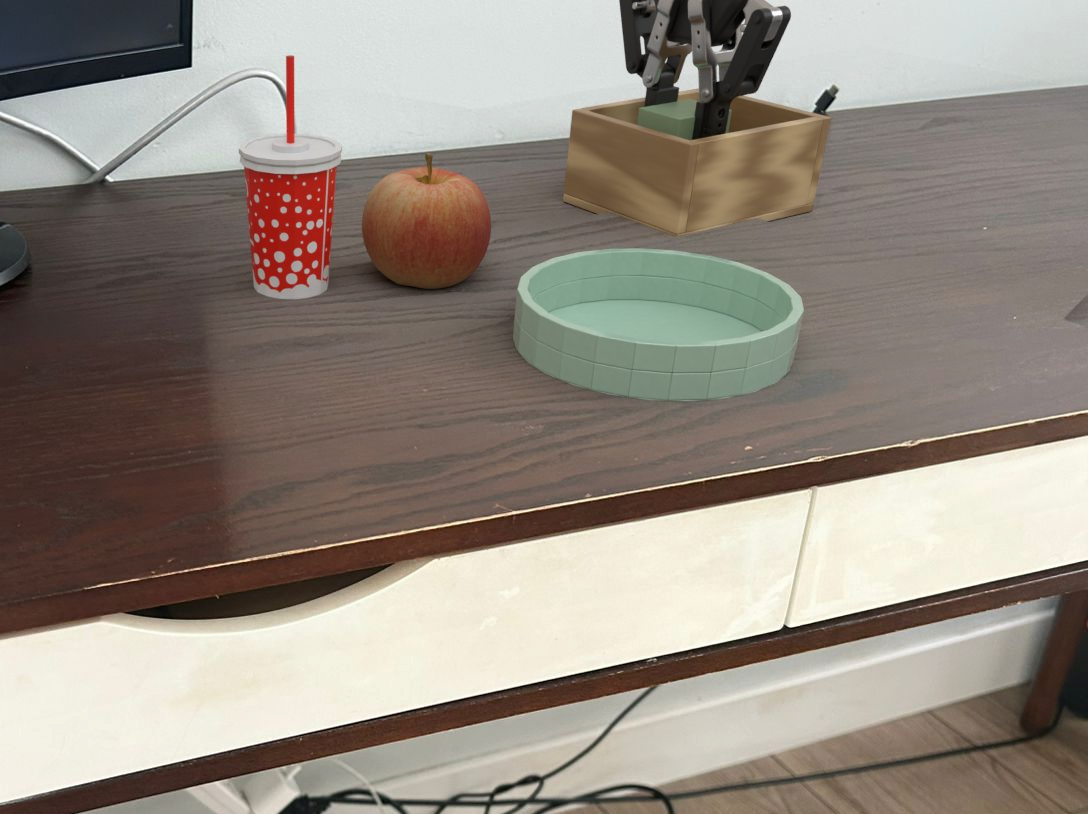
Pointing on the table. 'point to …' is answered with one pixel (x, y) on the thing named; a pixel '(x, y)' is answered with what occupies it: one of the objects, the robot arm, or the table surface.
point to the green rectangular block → (672, 118)
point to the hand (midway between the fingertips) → (679, 147)
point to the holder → (695, 166)
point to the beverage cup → (290, 206)
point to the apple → (426, 227)
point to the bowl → (657, 324)
